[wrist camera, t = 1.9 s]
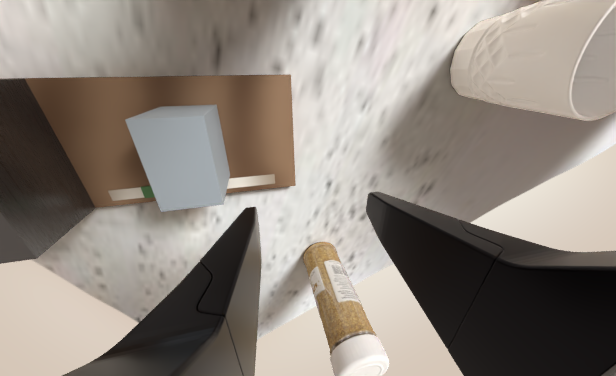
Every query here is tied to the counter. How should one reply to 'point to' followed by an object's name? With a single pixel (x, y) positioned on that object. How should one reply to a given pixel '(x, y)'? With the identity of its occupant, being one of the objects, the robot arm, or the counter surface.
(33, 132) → the dark grey slab
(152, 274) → the counter surface
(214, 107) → the pale grey rectangular block
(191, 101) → the gauge base
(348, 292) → the sprinkles bottle
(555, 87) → the white cup
